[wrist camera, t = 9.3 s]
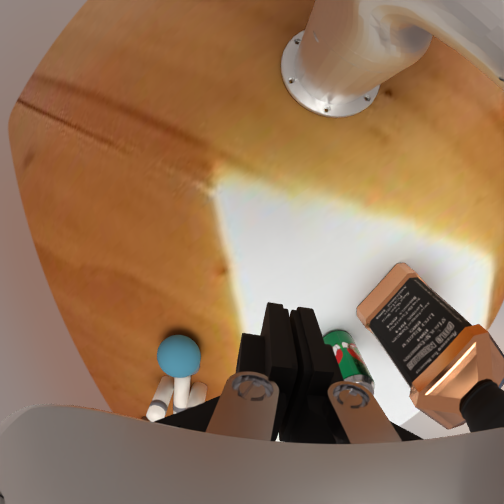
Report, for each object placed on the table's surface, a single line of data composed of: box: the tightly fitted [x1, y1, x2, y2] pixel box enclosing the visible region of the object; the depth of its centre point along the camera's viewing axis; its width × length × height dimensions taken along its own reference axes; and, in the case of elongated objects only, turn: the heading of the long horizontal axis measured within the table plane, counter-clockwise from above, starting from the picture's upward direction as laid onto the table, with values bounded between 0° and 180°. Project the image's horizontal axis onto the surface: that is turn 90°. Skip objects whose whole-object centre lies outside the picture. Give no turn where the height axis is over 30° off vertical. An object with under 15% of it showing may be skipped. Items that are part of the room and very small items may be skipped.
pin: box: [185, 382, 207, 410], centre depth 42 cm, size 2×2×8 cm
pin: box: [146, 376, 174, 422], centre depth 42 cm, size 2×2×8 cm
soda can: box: [323, 331, 374, 395], centre depth 38 cm, size 5×5×12 cm
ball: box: [157, 335, 201, 378], centre depth 41 cm, size 6×6×6 cm
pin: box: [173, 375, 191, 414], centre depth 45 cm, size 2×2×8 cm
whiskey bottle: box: [357, 263, 504, 433], centre depth 27 cm, size 10×10×32 cm
